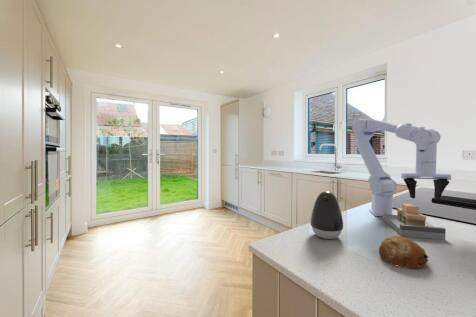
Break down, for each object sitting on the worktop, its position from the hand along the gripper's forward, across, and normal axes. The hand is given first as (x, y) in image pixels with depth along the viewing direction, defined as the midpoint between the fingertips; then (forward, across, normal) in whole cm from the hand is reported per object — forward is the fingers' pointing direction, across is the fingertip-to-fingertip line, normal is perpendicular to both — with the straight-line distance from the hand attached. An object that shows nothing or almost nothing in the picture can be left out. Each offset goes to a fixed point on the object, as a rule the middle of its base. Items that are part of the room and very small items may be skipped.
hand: (424, 198), depth 82 cm
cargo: (+4, -6, -4) cm, 9 cm away
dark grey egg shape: (+11, -36, -20) cm, 43 cm away
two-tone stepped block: (+8, -6, -4) cm, 11 cm away
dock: (+10, -6, -4) cm, 13 cm away
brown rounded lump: (+11, -18, -31) cm, 38 cm away
